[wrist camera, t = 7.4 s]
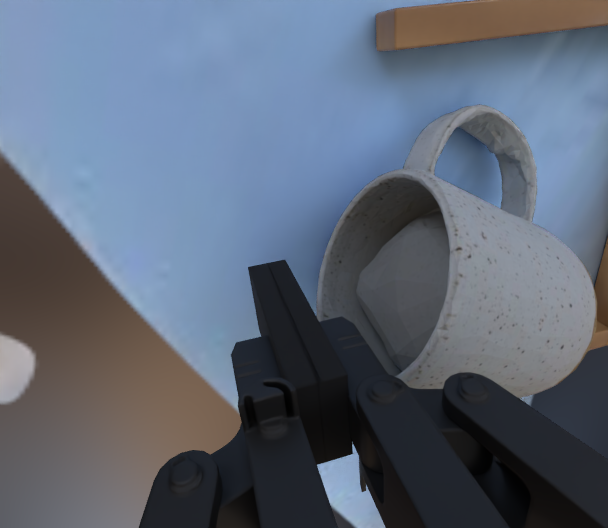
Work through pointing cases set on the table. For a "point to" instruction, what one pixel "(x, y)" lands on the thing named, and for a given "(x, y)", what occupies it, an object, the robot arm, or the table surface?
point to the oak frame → (491, 25)
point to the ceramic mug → (459, 270)
